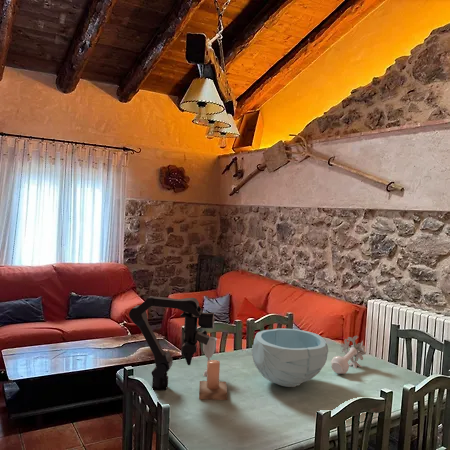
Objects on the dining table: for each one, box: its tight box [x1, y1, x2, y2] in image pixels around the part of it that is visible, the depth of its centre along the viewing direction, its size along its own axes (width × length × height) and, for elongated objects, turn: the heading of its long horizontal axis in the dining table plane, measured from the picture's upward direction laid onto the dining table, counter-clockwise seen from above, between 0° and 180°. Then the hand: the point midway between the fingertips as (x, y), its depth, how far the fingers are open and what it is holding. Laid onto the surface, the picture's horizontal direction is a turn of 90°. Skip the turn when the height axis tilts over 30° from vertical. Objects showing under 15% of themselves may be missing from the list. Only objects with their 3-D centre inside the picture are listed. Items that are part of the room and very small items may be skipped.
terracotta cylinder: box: [206, 359, 221, 389], centre depth 191 cm, size 6×6×11 cm
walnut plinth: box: [198, 380, 228, 401], centre depth 191 cm, size 12×12×3 cm
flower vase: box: [330, 334, 367, 375], centre depth 229 cm, size 13×18×25 cm
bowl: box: [251, 327, 329, 388], centre depth 206 cm, size 35×35×22 cm
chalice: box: [202, 336, 218, 378], centre depth 212 cm, size 7×7×18 cm
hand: (189, 361), depth 193 cm, fingers open, 9 cm apart
